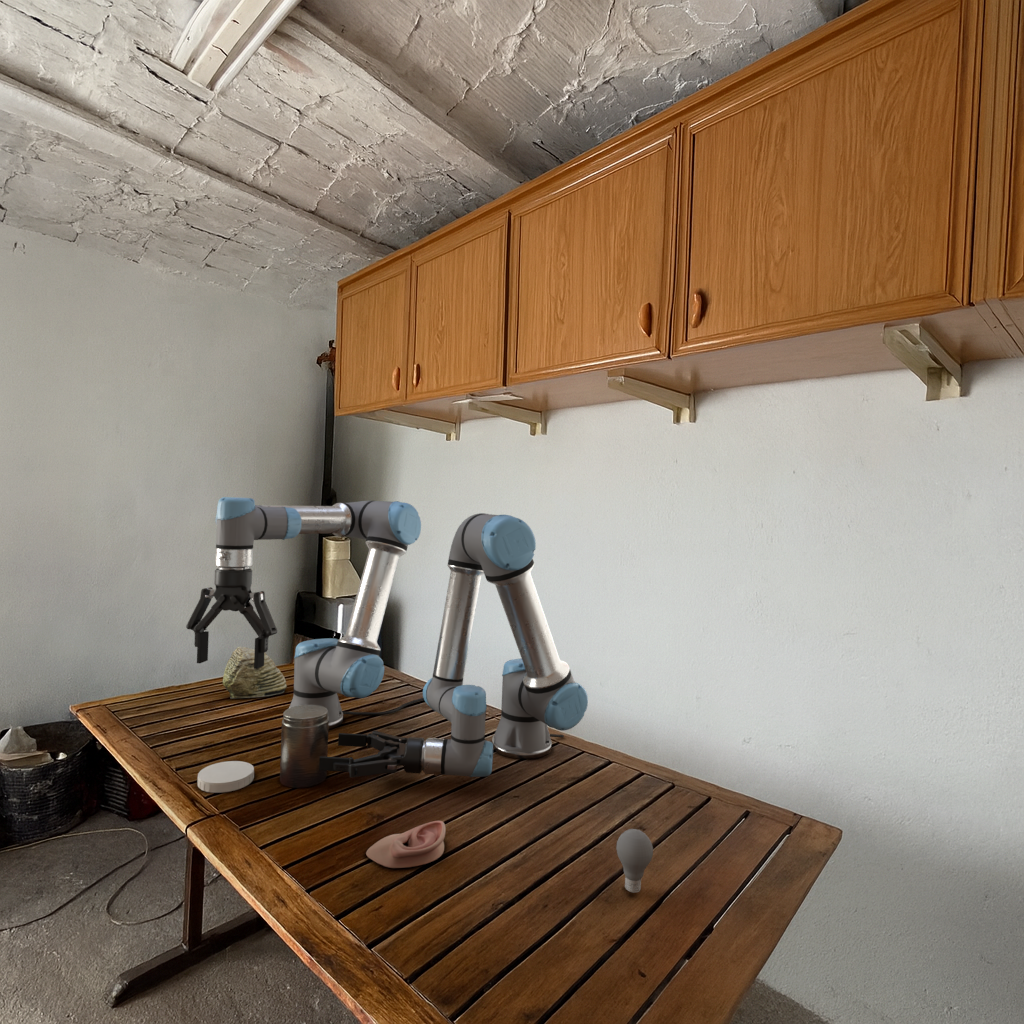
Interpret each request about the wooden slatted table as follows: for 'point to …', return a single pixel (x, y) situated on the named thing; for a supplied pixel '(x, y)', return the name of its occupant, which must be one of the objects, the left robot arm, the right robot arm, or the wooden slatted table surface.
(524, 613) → the right robot arm
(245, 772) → the lid
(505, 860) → the wooden slatted table surface
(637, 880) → the light bulb
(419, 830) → the anatomical model
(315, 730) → the jar
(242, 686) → the fossil
